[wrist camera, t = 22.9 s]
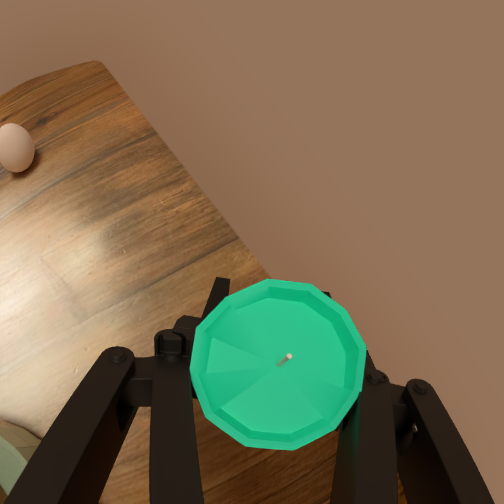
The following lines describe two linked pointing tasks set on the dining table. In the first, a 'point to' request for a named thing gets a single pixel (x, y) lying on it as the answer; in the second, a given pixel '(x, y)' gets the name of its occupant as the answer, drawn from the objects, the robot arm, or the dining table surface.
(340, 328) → the candle
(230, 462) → the dining table surface
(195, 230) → the dining table surface
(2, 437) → the bowl
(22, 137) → the egg
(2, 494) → the block
